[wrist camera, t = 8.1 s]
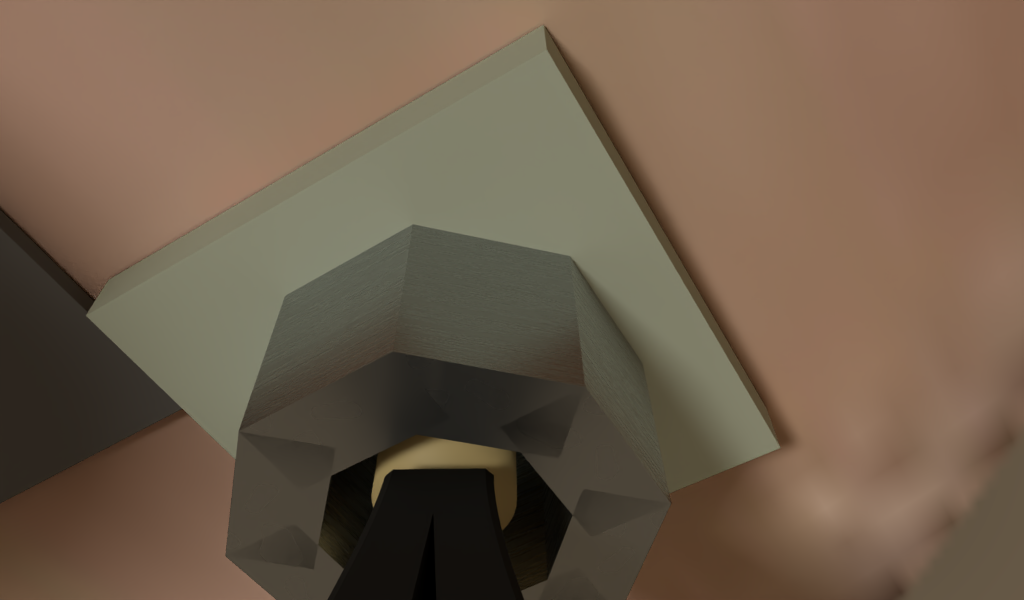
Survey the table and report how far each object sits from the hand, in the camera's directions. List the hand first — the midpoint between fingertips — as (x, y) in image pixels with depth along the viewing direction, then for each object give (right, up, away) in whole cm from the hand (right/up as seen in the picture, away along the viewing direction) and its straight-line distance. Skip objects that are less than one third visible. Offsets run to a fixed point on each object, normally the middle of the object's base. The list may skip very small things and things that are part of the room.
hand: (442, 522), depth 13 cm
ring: (0, +2, +2) cm, 3 cm away
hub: (0, +2, +3) cm, 4 cm away
